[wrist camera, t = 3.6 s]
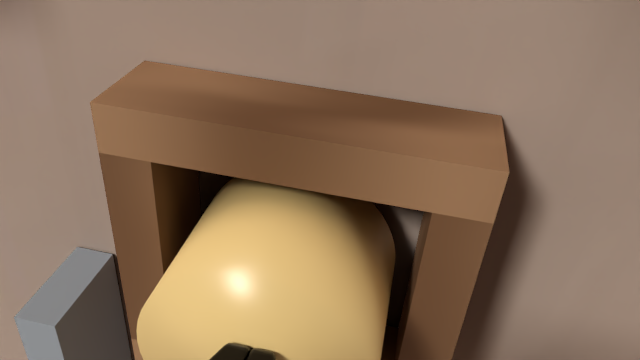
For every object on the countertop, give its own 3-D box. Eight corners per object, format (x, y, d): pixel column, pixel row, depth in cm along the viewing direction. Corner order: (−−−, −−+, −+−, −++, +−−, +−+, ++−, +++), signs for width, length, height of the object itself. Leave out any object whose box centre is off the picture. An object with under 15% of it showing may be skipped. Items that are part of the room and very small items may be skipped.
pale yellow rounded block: (410, 184, 11) (393, 304, 8) (381, 333, 13) (361, 465, 10) (201, 148, 11) (122, 249, 9) (209, 297, 13) (149, 412, 11)
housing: (501, 115, 10) (509, 172, 9) (431, 363, 14) (428, 434, 12) (144, 61, 11) (89, 102, 9) (171, 306, 15) (136, 366, 13)
